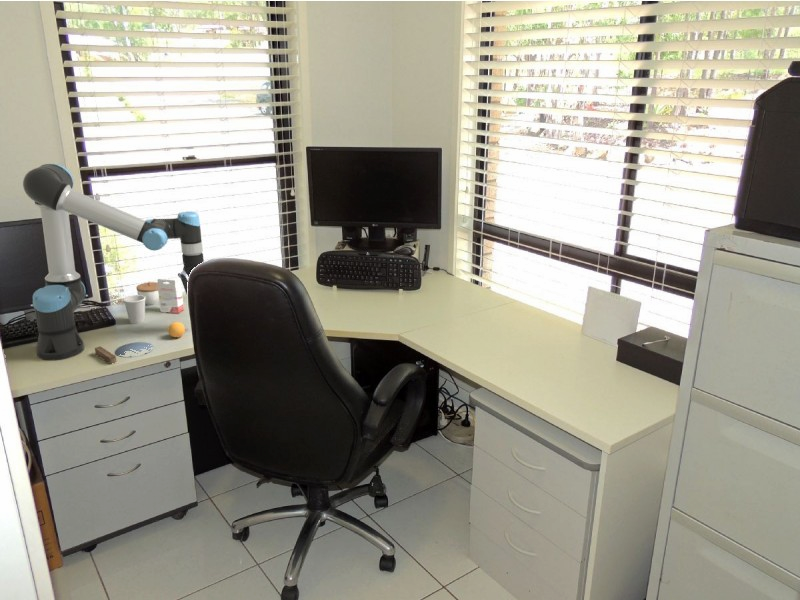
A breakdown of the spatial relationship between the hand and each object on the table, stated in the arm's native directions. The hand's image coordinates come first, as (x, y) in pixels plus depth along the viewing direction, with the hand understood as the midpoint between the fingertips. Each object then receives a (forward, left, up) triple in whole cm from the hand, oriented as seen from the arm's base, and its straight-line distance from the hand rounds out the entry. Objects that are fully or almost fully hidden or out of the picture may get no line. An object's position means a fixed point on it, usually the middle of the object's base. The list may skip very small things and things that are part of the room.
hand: (198, 311), depth 243 cm
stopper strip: (-37, 0, -8) cm, 38 cm away
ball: (-10, 0, -5) cm, 11 cm away
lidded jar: (+2, +43, -8) cm, 44 cm away
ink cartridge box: (+3, +27, -8) cm, 29 cm away
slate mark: (-27, 0, -8) cm, 28 cm away
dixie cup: (-13, +26, -8) cm, 30 cm away
